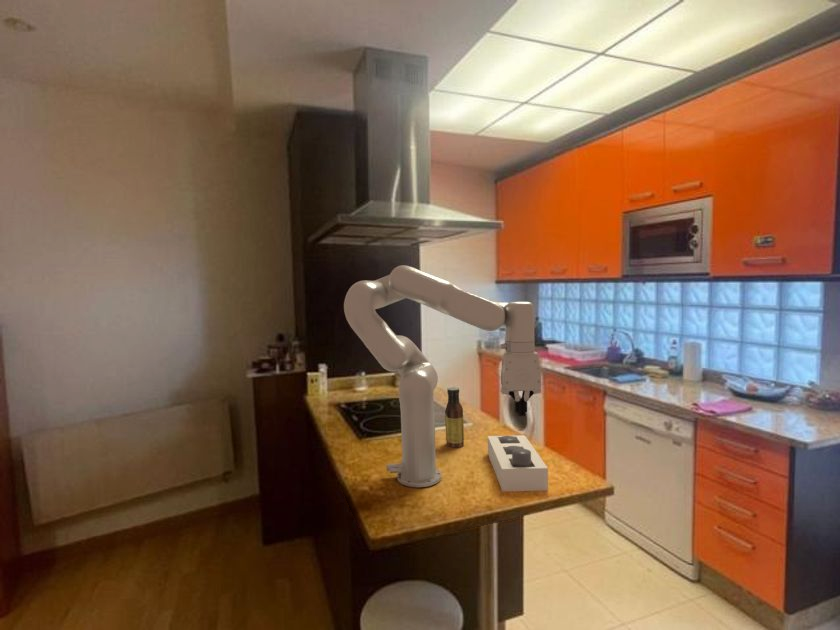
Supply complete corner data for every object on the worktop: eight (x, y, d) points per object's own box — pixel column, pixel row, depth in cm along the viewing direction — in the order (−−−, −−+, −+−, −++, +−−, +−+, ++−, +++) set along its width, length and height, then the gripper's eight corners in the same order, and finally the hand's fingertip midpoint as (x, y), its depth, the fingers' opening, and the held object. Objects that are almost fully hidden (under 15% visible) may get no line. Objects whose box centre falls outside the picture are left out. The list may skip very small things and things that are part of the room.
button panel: (502, 491, 114) (502, 469, 114) (487, 454, 140) (487, 436, 140) (548, 490, 114) (547, 468, 114) (525, 453, 140) (524, 435, 140)
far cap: (502, 458, 134) (502, 441, 134) (499, 452, 139) (499, 435, 138) (518, 458, 134) (518, 441, 133) (515, 452, 139) (515, 435, 138)
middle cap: (507, 470, 125) (507, 452, 125) (504, 464, 130) (504, 445, 130) (525, 470, 125) (525, 451, 124) (521, 463, 130) (521, 445, 129)
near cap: (514, 475, 116) (514, 455, 115) (510, 468, 121) (510, 448, 120) (533, 475, 116) (532, 455, 115) (528, 467, 121) (528, 448, 120)
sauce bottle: (453, 440, 154) (451, 385, 153) (467, 444, 150) (466, 387, 149) (442, 446, 149) (440, 388, 148) (457, 449, 145) (456, 391, 144)
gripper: (494, 350, 113) (495, 419, 114) (552, 348, 113) (552, 418, 114) (490, 346, 120) (491, 411, 121) (543, 345, 120) (544, 410, 121)
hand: (521, 414), depth 118 cm, fingers closed
